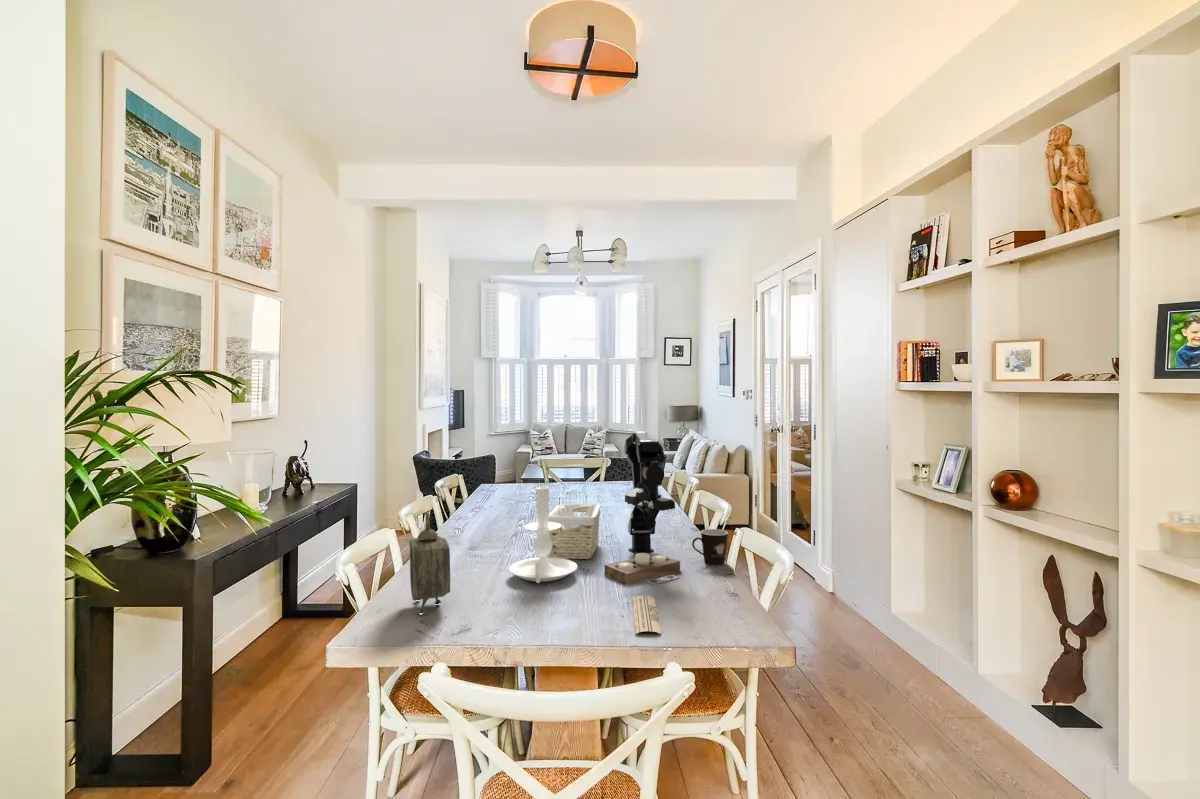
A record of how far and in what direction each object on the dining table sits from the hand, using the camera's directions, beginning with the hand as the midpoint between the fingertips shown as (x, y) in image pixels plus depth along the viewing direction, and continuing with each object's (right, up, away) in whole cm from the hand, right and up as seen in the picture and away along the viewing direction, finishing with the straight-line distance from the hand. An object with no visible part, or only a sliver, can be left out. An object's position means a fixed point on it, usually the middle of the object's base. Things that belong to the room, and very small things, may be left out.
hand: (649, 527), depth 194 cm
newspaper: (-4, -14, -43) cm, 45 cm away
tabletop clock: (-60, -14, -35) cm, 71 cm away
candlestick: (-33, -13, -13) cm, 38 cm away
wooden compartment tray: (-3, -12, -8) cm, 15 cm away
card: (+2, -12, -15) cm, 20 cm away
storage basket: (-24, -12, +17) cm, 32 cm away
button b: (-3, -10, -8) cm, 13 cm away
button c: (+3, -12, -4) cm, 13 cm away
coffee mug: (+20, -12, +2) cm, 23 cm away
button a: (-8, -12, -12) cm, 18 cm away
